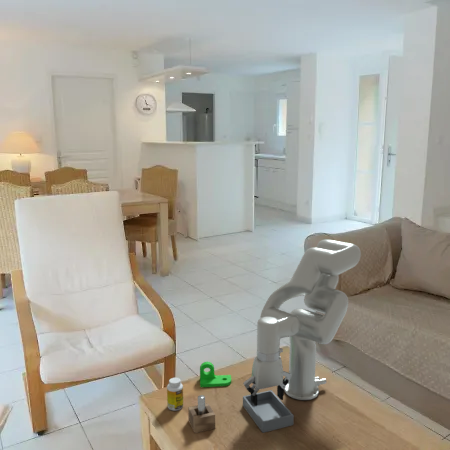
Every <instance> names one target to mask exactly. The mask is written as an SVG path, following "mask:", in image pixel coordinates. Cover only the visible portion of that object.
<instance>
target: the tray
mask: <svg viewBox="0 0 450 450" xmlns="http://www.w3.org/2000/svg"><path fill="white" fill-rule="evenodd" d="M256 394H257V406H255V405H254V404H253V403H252V402H251V394H247V395H243V396H242V407H243V408H244V409H245V411H246V413H248V414H249V416H250V418H251V419H252V420H253V422H254V423H255V425H256V427H258V429H259V430H260V432H261V433H268V432H271V431H275V430H279V429H283V428H286V427H291V426H294V413H292V411H291V410H290V409H289V408H288V407H287V406H286V404H284V402H283V400H280V398H279V397H278V396H277V394H275V392H274V390H272V389H270V390H267V391H261V392H257V393H256Z"/></svg>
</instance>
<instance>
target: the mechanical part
mask: <svg viewBox="0 0 450 450" xmlns="http://www.w3.org/2000/svg"><path fill="white" fill-rule="evenodd" d="M205 369H209V371H205ZM231 384H232V375H231V374H222V375H221V374H218V375H216V374H215V366H214V363H212V362H211V361H204V362H202V363H201V365H200V366H199V385H200V386H199V387H200V388H214V387H228V386H230V385H231Z"/></svg>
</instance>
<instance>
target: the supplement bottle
mask: <svg viewBox="0 0 450 450" xmlns="http://www.w3.org/2000/svg"><path fill="white" fill-rule="evenodd" d="M166 393H167V395H166V396H167V397H166V398H167V399H166V400H167V408H168V410H170V411H174V412H175V411H176V412H177V411H180V410H182V408H183V407H184V385H183V383H182V381H181V379H180V377H172V378H170V379H169V380H168V384H167V385H166Z"/></svg>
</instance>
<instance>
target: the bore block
mask: <svg viewBox="0 0 450 450" xmlns="http://www.w3.org/2000/svg"><path fill="white" fill-rule="evenodd" d="M187 409H188V414H187V415H188V422H189V425H190V427H191V429H192V431H193V433H194V434H197V433H202V432H206V431H210V430H215V429H216V413H215V412H214V410H213V408H212V407H211V405H210V403H209V402H207V403H206V402H205V414H203V415H198V404H197V405H194V406H189V407H187Z"/></svg>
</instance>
